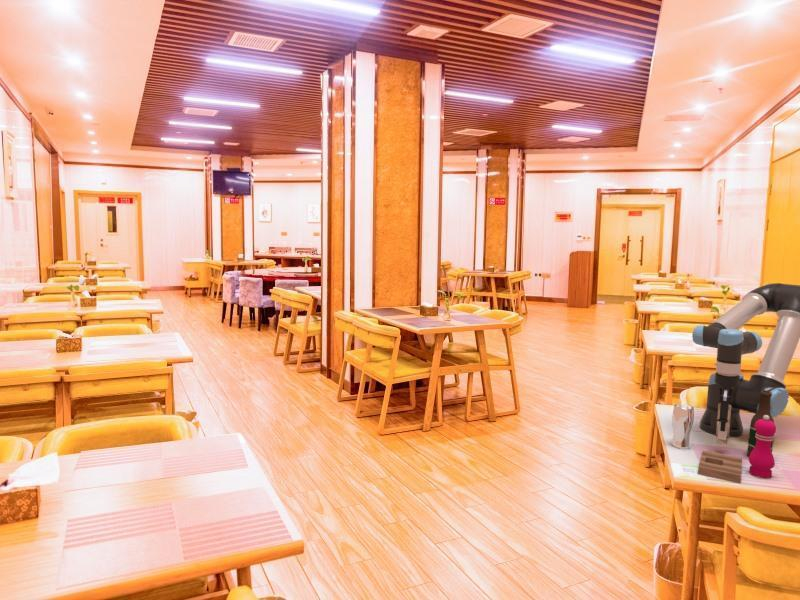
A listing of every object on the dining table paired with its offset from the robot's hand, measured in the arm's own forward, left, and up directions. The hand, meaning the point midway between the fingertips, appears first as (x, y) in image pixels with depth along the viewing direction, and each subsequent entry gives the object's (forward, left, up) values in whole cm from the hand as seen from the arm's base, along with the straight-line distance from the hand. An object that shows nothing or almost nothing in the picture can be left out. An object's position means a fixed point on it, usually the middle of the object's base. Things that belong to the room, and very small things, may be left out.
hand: (722, 436), depth 208 cm
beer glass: (+1, -13, -6) cm, 14 cm away
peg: (0, 0, -2) cm, 2 cm away
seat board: (+17, +1, -6) cm, 18 cm away
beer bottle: (-2, +12, -6) cm, 13 cm away
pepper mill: (+14, +12, -6) cm, 19 cm away
